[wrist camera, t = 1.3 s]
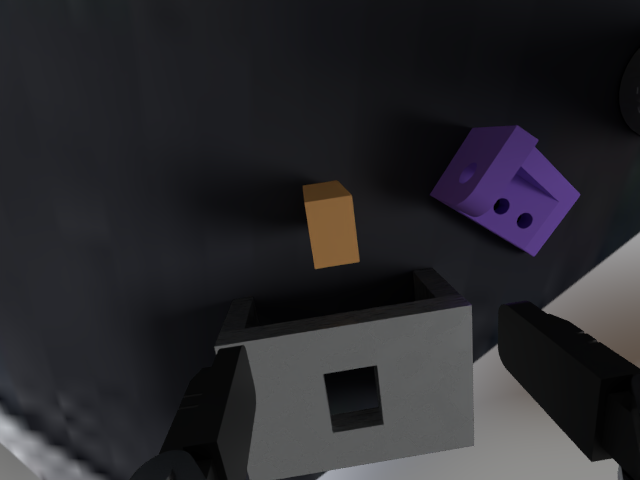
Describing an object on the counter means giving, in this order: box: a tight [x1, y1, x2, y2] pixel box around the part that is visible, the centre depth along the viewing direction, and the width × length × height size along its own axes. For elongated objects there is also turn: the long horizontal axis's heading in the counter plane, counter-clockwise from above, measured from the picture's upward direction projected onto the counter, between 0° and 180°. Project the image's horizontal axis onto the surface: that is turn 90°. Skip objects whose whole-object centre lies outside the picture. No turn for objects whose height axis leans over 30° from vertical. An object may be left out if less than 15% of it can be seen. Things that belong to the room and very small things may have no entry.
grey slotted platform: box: [214, 268, 474, 480], centre depth 32 cm, size 20×14×8 cm
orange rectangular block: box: [303, 180, 360, 269], centre depth 27 cm, size 3×4×10 cm, turn 8°
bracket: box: [430, 125, 580, 256], centre depth 30 cm, size 12×7×7 cm, turn 60°
